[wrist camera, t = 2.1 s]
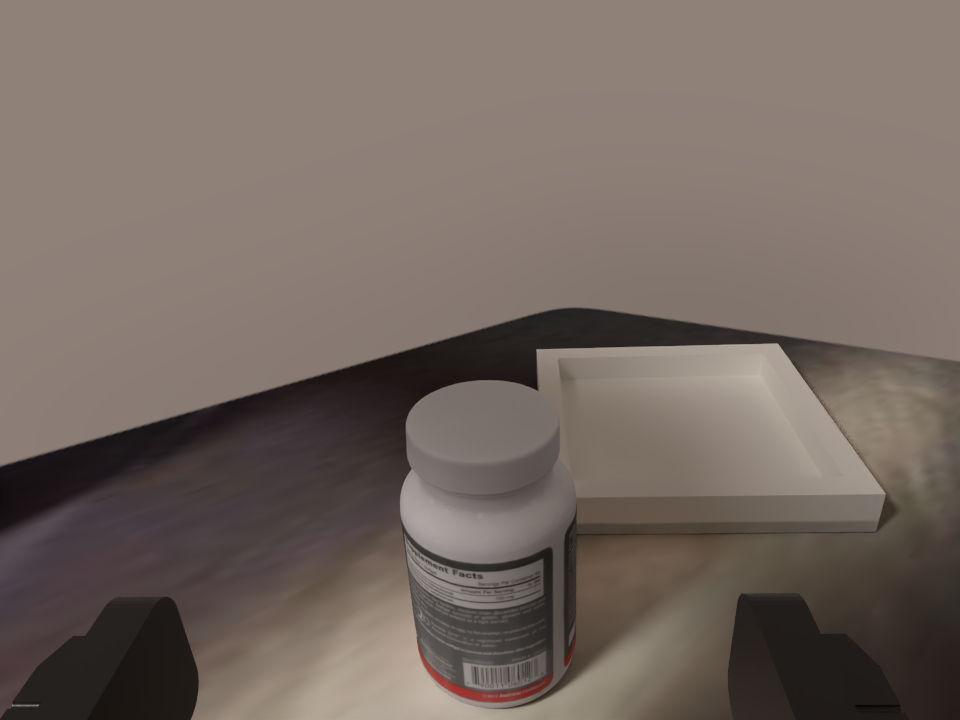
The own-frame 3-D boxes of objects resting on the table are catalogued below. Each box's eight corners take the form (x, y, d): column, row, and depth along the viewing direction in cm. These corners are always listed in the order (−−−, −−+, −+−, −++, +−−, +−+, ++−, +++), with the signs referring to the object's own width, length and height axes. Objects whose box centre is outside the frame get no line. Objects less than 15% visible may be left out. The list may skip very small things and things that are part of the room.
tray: (545, 534, 32) (545, 498, 31) (536, 378, 44) (536, 349, 43) (876, 531, 31) (886, 494, 30) (772, 373, 43) (777, 343, 42)
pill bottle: (482, 568, 30) (469, 355, 26) (604, 631, 27) (614, 400, 22) (385, 662, 26) (349, 430, 22) (514, 748, 23) (504, 498, 18)
